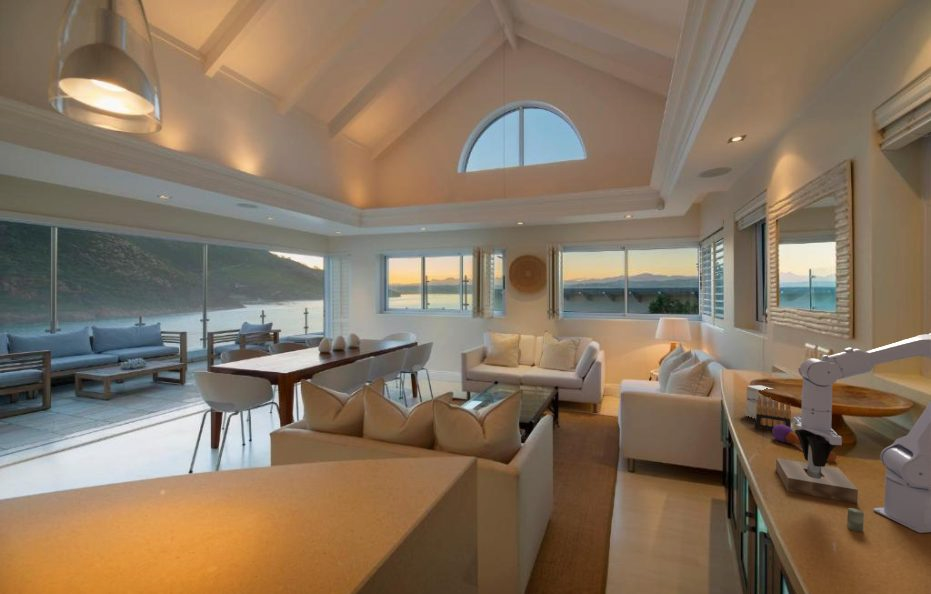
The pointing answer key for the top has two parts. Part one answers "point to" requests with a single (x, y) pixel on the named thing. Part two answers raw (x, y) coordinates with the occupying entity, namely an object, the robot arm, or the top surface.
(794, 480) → the hole board
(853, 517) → the green rectangular block
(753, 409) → the supplement box
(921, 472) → the robot arm
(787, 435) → the purple and brown maraca
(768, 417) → the ammunition clip
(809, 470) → the long pin
